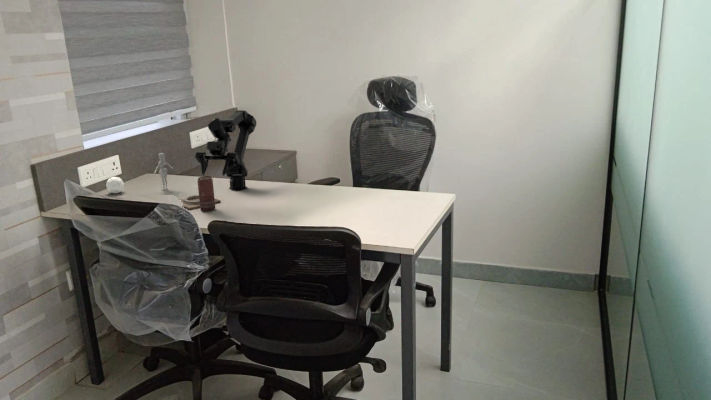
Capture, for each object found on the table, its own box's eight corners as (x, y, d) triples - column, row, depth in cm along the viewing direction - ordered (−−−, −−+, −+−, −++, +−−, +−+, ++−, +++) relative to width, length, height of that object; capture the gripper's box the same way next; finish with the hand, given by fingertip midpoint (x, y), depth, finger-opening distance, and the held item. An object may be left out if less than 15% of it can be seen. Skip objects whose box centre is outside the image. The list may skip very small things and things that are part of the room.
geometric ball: (119, 199, 265) (116, 188, 258) (103, 192, 265) (101, 182, 259) (128, 187, 269) (126, 177, 263) (113, 181, 270) (110, 171, 264)
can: (212, 212, 233) (208, 179, 229) (198, 211, 234) (194, 179, 230) (218, 208, 238) (215, 176, 234) (204, 207, 240) (201, 175, 236)
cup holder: (203, 195, 257) (202, 191, 256) (220, 202, 247) (220, 197, 246) (172, 202, 247) (172, 198, 247) (189, 209, 237) (188, 205, 236)
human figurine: (172, 186, 273) (167, 150, 268) (177, 187, 272) (173, 150, 266) (153, 193, 263) (148, 155, 258) (159, 193, 261) (154, 156, 256)
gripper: (194, 133, 241) (184, 164, 234) (235, 133, 238) (226, 165, 231) (204, 147, 251) (195, 177, 244) (243, 148, 247) (235, 179, 240)
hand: (212, 174), depth 239 cm, fingers open, 9 cm apart
